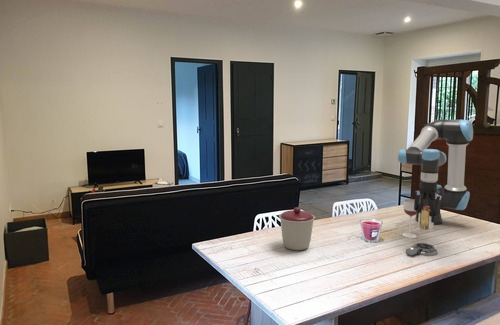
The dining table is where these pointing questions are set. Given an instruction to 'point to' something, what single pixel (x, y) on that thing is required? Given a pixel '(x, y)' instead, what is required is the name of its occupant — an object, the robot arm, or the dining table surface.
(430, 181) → the robot arm
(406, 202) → the wineglass
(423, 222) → the yellow glass cylinder
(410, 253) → the grey flat curved piece
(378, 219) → the dining table surface
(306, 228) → the canister
